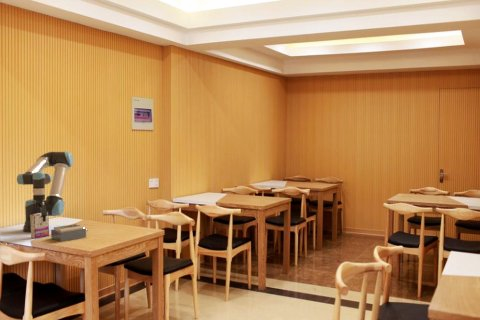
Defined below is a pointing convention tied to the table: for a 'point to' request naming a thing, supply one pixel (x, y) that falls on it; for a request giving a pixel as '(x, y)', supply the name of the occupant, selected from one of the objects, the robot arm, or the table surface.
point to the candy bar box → (38, 226)
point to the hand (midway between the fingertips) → (39, 225)
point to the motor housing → (68, 232)
